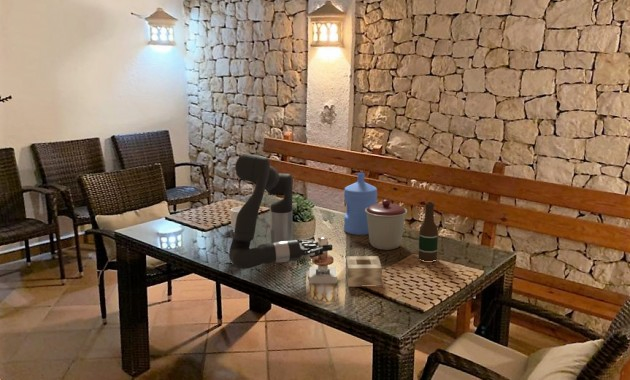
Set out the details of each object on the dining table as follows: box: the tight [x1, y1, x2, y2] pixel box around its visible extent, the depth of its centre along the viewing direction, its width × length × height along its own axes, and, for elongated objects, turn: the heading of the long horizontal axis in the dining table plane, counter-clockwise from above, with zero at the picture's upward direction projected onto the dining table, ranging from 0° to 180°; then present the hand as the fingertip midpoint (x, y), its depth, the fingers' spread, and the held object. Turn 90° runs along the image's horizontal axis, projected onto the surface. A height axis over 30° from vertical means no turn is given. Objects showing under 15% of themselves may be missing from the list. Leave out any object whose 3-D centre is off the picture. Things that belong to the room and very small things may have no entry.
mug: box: [230, 205, 244, 228], centre depth 259 cm, size 13×10×10 cm
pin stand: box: [308, 266, 338, 285], centre depth 200 cm, size 10×10×2 cm
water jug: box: [343, 172, 378, 236], centre depth 253 cm, size 16×16×28 cm
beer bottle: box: [418, 201, 439, 261], centre depth 215 cm, size 8×8×24 cm
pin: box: [311, 236, 334, 275], centre depth 198 cm, size 8×8×15 cm
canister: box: [365, 199, 408, 251], centre depth 232 cm, size 18×18×21 cm
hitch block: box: [345, 255, 383, 287], centre depth 197 cm, size 12×12×7 cm
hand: (329, 245), depth 198 cm, fingers closed on pin, 3 cm apart
